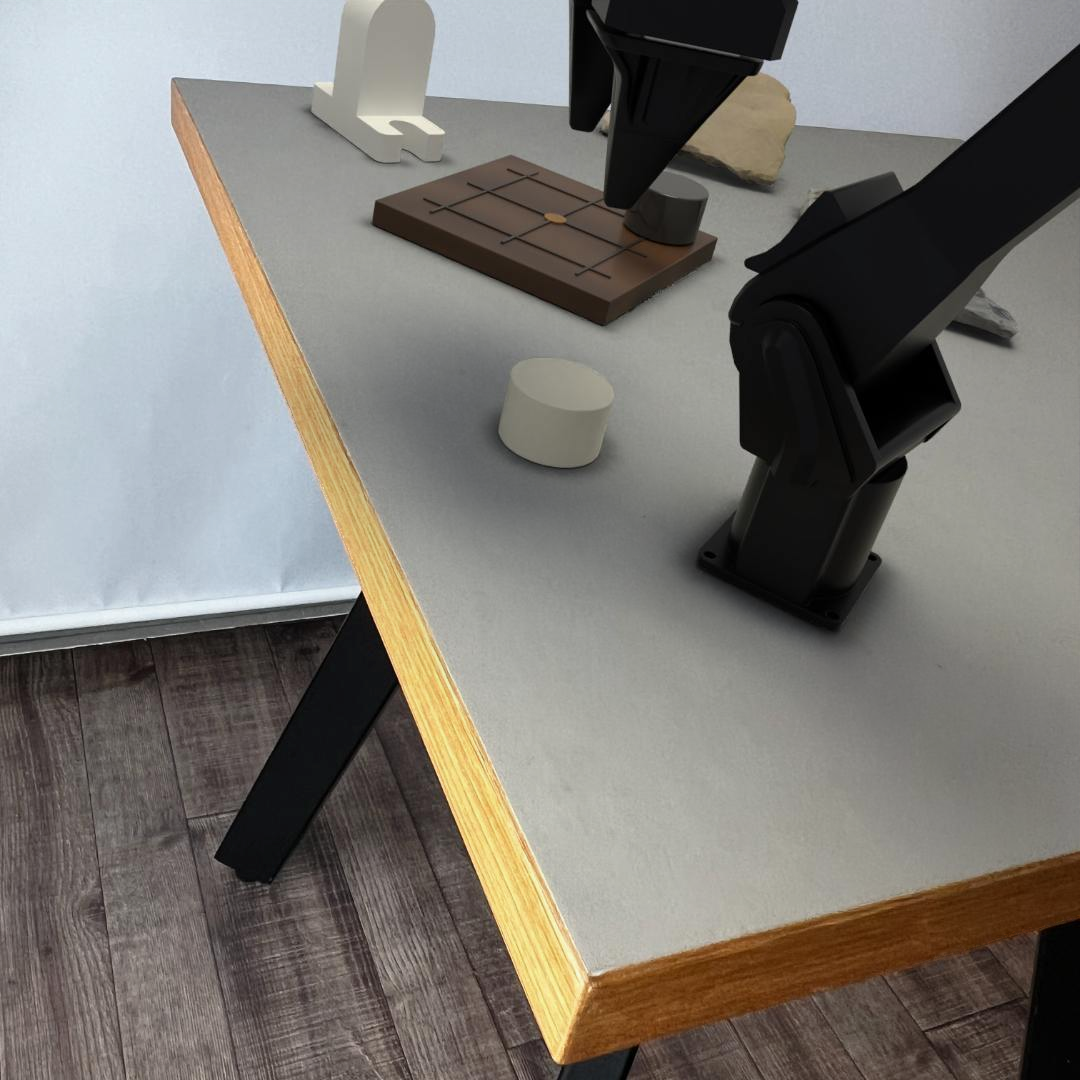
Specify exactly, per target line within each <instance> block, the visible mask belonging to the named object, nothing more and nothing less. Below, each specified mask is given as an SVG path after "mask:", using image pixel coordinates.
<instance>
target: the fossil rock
mask: <svg viewBox="0 0 1080 1080" xmlns="http://www.w3.org/2000/svg"><path fill="white" fill-rule="evenodd" d="M835 188H836V187H835V186H831V187H826V188H824V189H818V188H813V187H811V188H809V189H808V191H807V194H806V197H805V199H804V201H803V204H802V205H801V208H800V211H799V218H800V217H801V216H802V215H803V213H804V212H805V211H806V209H807V208H808V207H809V206H810V205H811V204H812V203H813V202H814V201H815V200H816V199H817V198H818V197H819V196H820V195H821V194H822V193H823V192H825V191H828V190H831V189H835ZM952 321H955V322H958V323H961V324H965V325H970V326H972V327H976V328H978V329H981V330H983V331H987V332H990V333H993V334H995V335H998V336H1000V337H1002V338H1006V339H1012V338H1014V337H1015V336H1016V334H1018V333H1019V329H1018V327H1017V321H1016V319H1015V318H1014V317H1013V316H1012V314H1011V313H1010V312H1009V310H1007V309H1005V308H1003V307H1002V306H1001V305H999V304H998V303H997V302H995V300H993V299H991V298H989V297H988V296H987V295H986V292H985V291H984V289H983V287H980V289H979V290H978V291H977V293H976V294H975V295H974V296H973V298H972V299H971V300H970V302H969V303H968V304H967V305H966V306H965V308H964V309H963V310H962V311H961V312H960V313H959V314H958V315H957V316H956V317H955V318H954V319H953V320H952Z"/></svg>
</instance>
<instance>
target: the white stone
mask: <svg viewBox="0 0 1080 1080" xmlns="http://www.w3.org/2000/svg"><path fill="white" fill-rule="evenodd" d="M615 399H616V393H615V389H614V387H613V386H612V384H611V383H610V382H609V380H607V379H606V377H604V375H602V374H600V373H599V372H597V371H595V370H594V369H591V368H589V367H588V366H585V365H583V364H580V363H578V362H573V361H570V360H566V359H563V358H562V359H561V358H557V357H532V358H527V359H524V360H521V361H519V362H517V363H516V364H515V365H514V366H512V368H511V370H510V375H509V379H508V382H507V388H506V393H505V398H504V401H503V406H502V410H501V414H500V419H499V424H498V428H497V429H498V431H497V432H498V435H499V438H500V440H501V441H502V443H503V444H504V445H505V446H506V447H507V448H508V449H509V450H511V451H512V452H513V453H515V454H516V455H517V456H519V457H521V458H523V459H525V460H528V461H530V462H533V463H535V464H539V465H542V466H546V467H552V468H563V469H566V468H567V469H572V468H579V467H583V466H587V465H589V464H591V463H592V462H593V461H595V460H596V459H597V458H598V456H599V455H600V452H601V448H602V444H603V440H604V437H605V434H606V429H607V426H608V423H609V420H610V416H611V413H612V410H613V409H612V408H613V405H614V403H615Z"/></svg>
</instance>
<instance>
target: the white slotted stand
mask: <svg viewBox="0 0 1080 1080" xmlns="http://www.w3.org/2000/svg"><path fill="white" fill-rule="evenodd" d="M436 26H437V25H436V19H435V14H434V13H433V10H432V8H431V6H430V4H429V3H428V1H426V0H345V3H344V5H343V7H342V12H341V19H340V26H339V34H338V35H339V36H338V44H337V51H336V60H335V69H334V78H333V82H332V81H315V82H314V85H313V93H312V101H311V102H312V103H311V112H310V113H312V114H313V115H314V116H315V117H317V118H318V119H319V120H320V121H322V122H324V123H325V124H326V125H327V126H329V127H330V128H331V129H333V130H334V131H335V132H337V133H338V134H339V135H341V136H342V137H343V138H344V139H346V140H347V141H349V142H350V143H351V144H352V145H354V146H355V147H357V148H358V149H359V150H360V151H362V152H363V153H365V154H366V155H367V156H369V157H370V158H371V159H373V160H375V161H376V162H379V163H385V164H386V163H387V164H388V163H400V162H401V155H402V150H405V151H408V152H409V153H411V154H413V155H414V156H415V157H417V158H419V159H420V160H421V161H422V162H423V163H424V162H429V163H430V162H431V163H432V162H440V161H441V160H442V155H443V148H444V143H445V138H446V137H445V136H446V131H445V130H443V129H442V128H441V127H439V126H437V125H436V124H435V123H433V122H432V121H430V120H429V119H427V118H426V117H424V116H423V113H424V106H425V101H426V94H427V88H428V83H429V76H430V69H431V63H432V57H433V50H434V45H435V38H436Z"/></svg>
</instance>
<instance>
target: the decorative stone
mask: <svg viewBox="0 0 1080 1080" xmlns="http://www.w3.org/2000/svg"><path fill="white" fill-rule="evenodd" d="M796 120H797V109H796V106H795V105H794V104H793V103H792V98H791V92H790V89H788V88H787V87H786V86H785V85H784V84H783V83H782V82H781V81H779V80H778V79H777V78H775V77H773V76H771V75H769V74H768V73H765V72H761V71H759V73H758V74H757V75H756V76H747V77H746V78H745V80H744V81H743V82H742V83H741V84H740V85H739V86H738V87H737V88H736V89H735V90H734V91H733V92H732V93H731V95H730V96H729V97H728V98H727V99H726V100H725V101H724V102H723V103H722V104H721V105H720V106H719V107H718V108H717V110H716V111H715V112H714V113H713V114H712V115H711V116H710V117H709V118H708V119H707V120H706V121H705V122H704V124H703V125H702V126H701V127H700V128H699V129H698V130H697V132H696V133H695V134H694V135H693V136H692V137H691V139H690V140H689V141H688V142H687V143H686V144H685V145H684V147H683V148H682V149H681V150H680V151H679V152H678V154H677V155H678V156H680V157H681V156H683V157H686V158H693V159H695V160H702V161H705V163H706V164H707V165H711V166H713V167H714V168H718V167H722V168H724V169H728V170H730V171H731V172H732V173H733V174H735V175H737V176H738V177H739V178H740V179H743V180H746V181H747V183H749V184H751V185H759V184H760V185H764V186H772V185H773V184H775V182H776V181H777V179H778V177H779V173H780V170H781V168H782V167H783V165H784V162H785V160H786V151H785V150H786V145H787V143H788V141H789V139H790V137H791V135H792V133H793V131H794V130H795V127H796V122H797V121H796ZM600 121H601V122H600V127H601V132H603V133H605V134H607V135H608V131H609V121H610V110H609V111H608V112H606V113H605V114H604V115H603V117H602V118H601V120H600ZM677 155H676V156H677Z"/></svg>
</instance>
